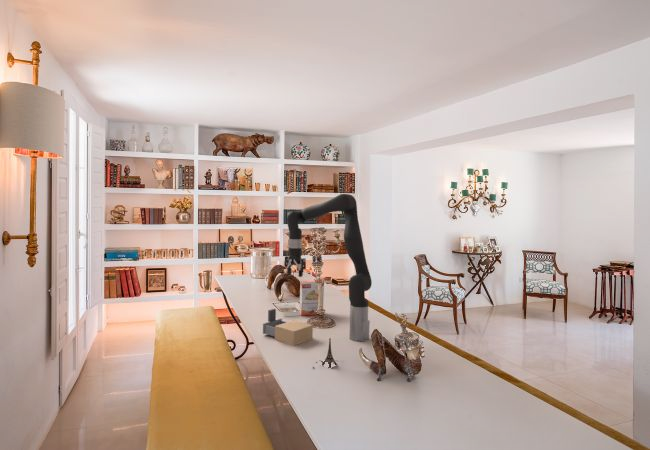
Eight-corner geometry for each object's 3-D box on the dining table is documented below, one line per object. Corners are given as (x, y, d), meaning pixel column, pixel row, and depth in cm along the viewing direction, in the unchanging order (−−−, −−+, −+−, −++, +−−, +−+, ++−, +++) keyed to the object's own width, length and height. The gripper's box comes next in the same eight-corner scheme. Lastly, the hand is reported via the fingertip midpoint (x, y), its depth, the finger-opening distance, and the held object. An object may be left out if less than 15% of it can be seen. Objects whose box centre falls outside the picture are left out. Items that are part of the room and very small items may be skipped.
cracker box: (301, 316, 258) (301, 282, 257) (299, 313, 264) (299, 280, 263) (323, 315, 262) (324, 281, 261) (321, 312, 268) (321, 279, 267)
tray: (298, 333, 223) (298, 311, 222) (280, 339, 212) (280, 316, 212) (279, 327, 231) (279, 307, 231) (261, 333, 221) (261, 311, 220)
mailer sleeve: (312, 338, 217) (312, 325, 216) (293, 345, 206) (293, 331, 206) (294, 333, 225) (294, 320, 225) (274, 339, 214) (275, 325, 214)
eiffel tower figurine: (345, 361, 189) (346, 331, 188) (348, 370, 178) (349, 339, 178) (311, 361, 188) (312, 331, 187) (312, 370, 178) (313, 339, 177)
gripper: (309, 247, 235) (308, 276, 236) (290, 245, 244) (290, 273, 245) (300, 248, 229) (299, 278, 230) (281, 246, 238) (280, 275, 239)
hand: (294, 275), depth 238 cm, fingers open, 8 cm apart
